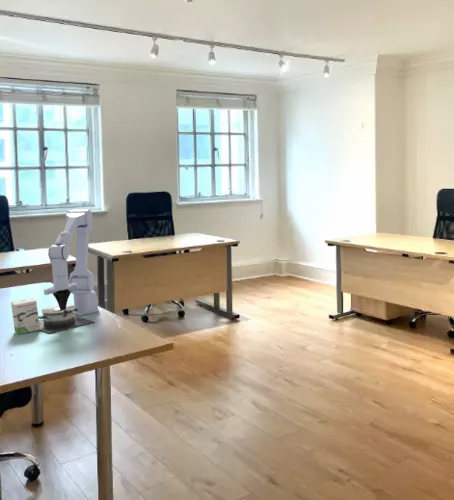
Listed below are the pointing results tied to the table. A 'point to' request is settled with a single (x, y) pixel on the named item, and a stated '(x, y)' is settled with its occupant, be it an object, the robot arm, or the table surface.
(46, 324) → the cooking pot
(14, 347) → the table surface
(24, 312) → the ink box
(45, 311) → the lid
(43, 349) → the table surface
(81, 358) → the table surface
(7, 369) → the table surface
